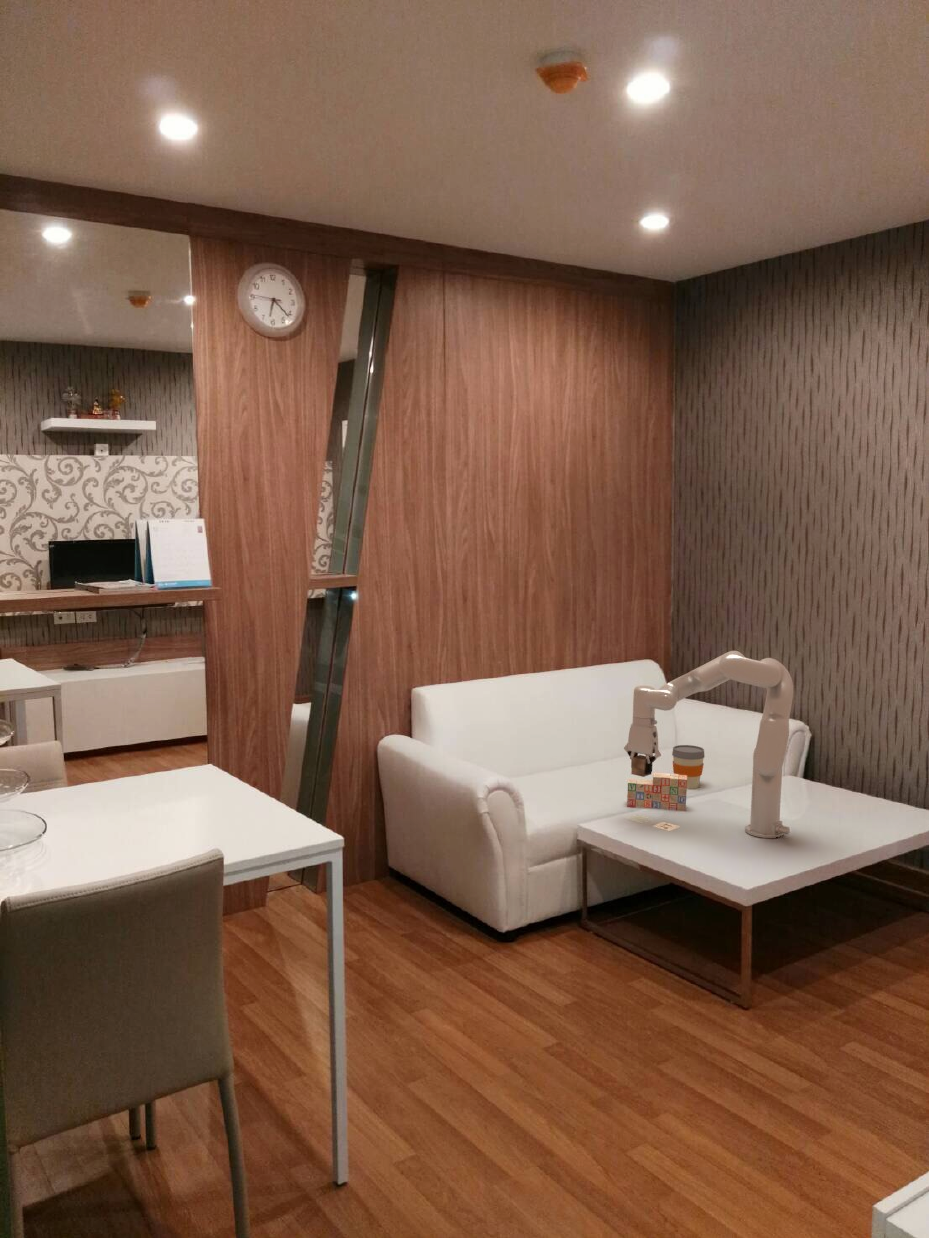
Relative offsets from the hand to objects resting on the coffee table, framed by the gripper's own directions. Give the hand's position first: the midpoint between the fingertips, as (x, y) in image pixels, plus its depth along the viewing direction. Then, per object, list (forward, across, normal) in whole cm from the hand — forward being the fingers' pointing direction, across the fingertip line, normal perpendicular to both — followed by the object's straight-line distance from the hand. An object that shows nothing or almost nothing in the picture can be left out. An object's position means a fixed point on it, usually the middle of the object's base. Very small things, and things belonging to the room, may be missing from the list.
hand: (641, 771), depth 355 cm
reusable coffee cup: (+18, +11, -50) cm, 54 cm away
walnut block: (+1, 0, 0) cm, 1 cm away
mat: (+18, -5, 0) cm, 18 cm away
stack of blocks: (+18, +4, -18) cm, 26 cm away
